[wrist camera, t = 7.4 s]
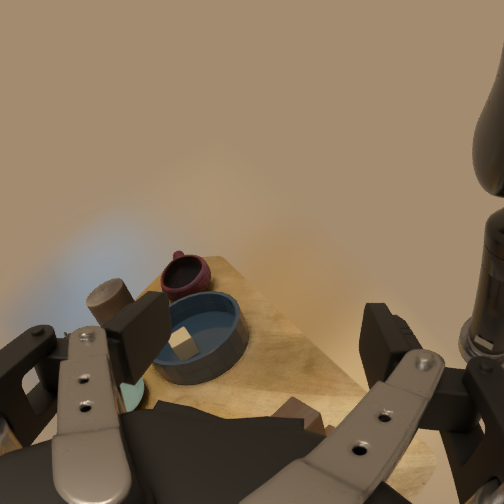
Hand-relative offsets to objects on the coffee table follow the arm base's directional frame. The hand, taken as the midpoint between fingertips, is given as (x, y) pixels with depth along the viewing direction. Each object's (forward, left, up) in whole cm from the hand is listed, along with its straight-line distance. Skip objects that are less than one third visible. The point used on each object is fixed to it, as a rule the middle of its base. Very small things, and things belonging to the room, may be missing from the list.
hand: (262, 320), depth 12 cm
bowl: (+10, -56, -29) cm, 64 cm away
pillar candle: (+25, -45, -29) cm, 59 cm away
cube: (+12, -34, -28) cm, 46 cm away
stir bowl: (+10, -35, -29) cm, 47 cm away
